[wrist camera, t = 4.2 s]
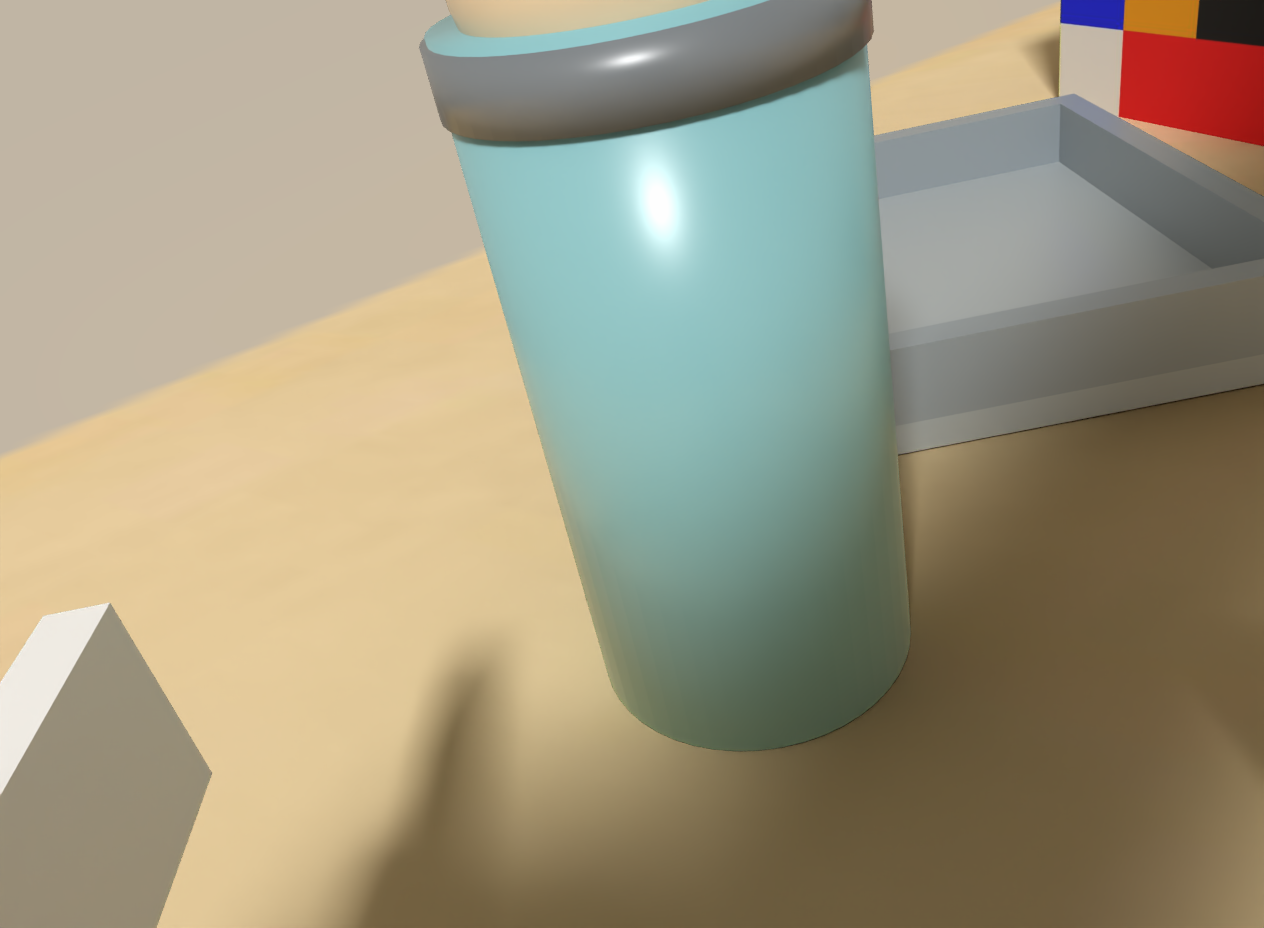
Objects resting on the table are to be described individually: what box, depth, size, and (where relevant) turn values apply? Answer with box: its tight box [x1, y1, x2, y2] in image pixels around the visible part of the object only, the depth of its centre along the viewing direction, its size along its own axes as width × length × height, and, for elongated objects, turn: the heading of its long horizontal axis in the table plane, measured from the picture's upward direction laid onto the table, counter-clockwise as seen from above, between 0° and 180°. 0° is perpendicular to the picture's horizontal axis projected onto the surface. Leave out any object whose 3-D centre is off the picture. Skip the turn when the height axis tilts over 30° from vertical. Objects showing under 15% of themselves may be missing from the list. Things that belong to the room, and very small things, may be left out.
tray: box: [874, 94, 1264, 455], centre depth 31 cm, size 16×16×3 cm
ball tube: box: [419, 0, 911, 751], centre depth 17 cm, size 6×6×15 cm
